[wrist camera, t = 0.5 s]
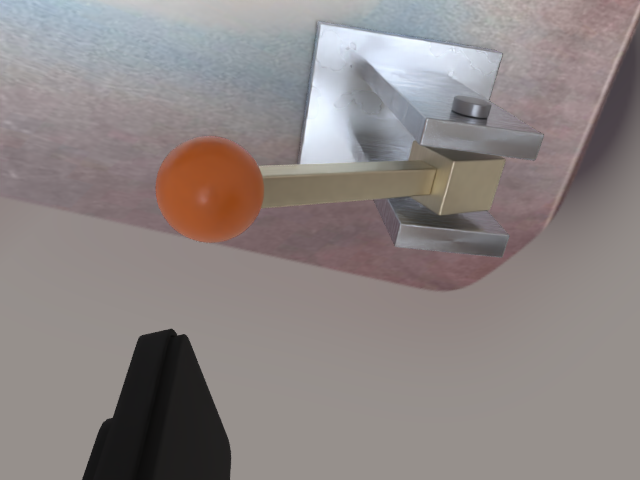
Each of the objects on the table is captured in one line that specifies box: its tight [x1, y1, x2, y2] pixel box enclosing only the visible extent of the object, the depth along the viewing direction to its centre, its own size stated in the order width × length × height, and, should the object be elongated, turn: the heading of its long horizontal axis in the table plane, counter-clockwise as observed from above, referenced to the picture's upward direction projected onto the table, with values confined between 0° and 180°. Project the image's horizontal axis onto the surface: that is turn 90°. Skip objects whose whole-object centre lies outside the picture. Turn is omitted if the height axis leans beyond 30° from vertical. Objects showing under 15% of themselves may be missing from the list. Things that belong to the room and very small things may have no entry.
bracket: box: [297, 21, 544, 257], centre depth 26 cm, size 10×8×13 cm
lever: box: [156, 136, 506, 243], centre depth 19 cm, size 13×3×3 cm, turn 83°
